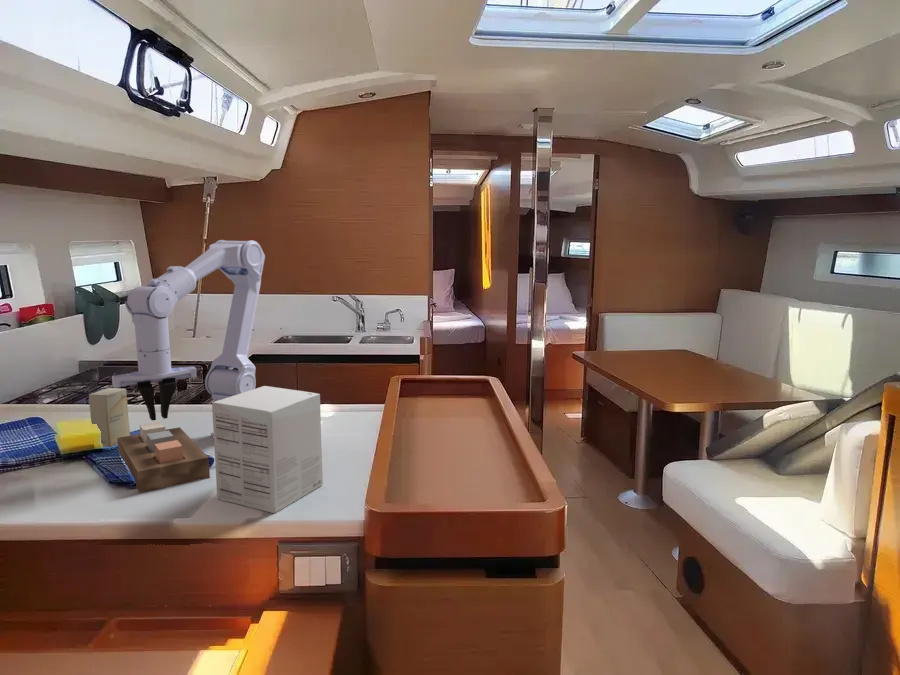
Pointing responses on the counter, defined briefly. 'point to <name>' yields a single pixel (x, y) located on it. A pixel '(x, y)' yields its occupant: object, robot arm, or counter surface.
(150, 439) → the key slate
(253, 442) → the supplement box
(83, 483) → the counter surface
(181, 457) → the key terracotta
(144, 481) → the console
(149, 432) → the key ivory
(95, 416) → the skincare box
